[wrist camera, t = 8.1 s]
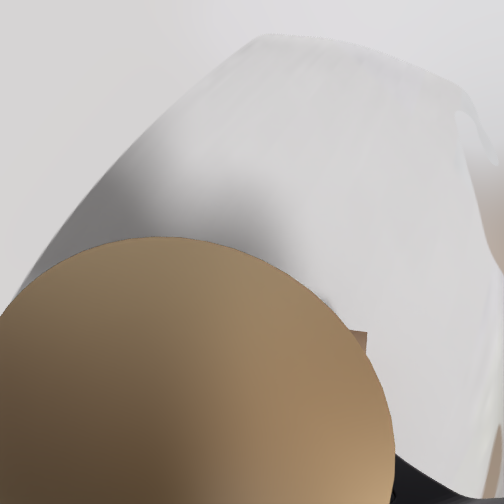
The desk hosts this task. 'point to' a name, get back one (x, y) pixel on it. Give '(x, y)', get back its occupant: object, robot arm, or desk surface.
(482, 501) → the robot arm
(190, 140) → the desk surface
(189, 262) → the tan tall cylinder
